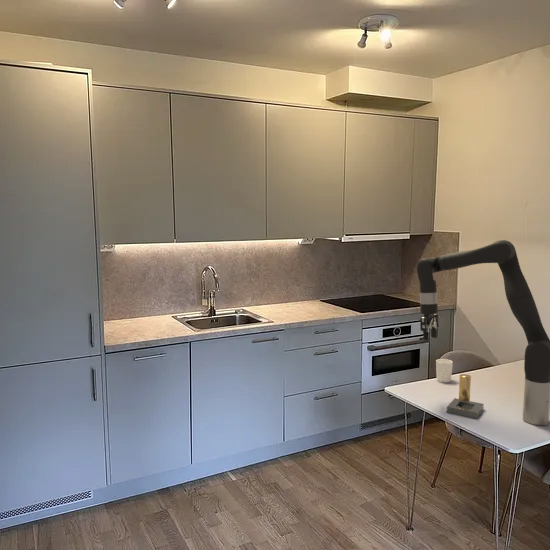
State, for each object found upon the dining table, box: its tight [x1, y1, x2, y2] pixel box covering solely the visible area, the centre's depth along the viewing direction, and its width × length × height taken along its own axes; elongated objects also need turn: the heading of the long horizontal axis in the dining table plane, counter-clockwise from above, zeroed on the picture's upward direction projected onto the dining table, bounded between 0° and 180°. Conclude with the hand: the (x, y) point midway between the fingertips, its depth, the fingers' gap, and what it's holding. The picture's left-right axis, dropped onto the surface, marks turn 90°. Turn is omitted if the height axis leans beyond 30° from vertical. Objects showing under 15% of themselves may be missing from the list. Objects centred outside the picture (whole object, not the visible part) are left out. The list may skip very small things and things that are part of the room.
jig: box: [446, 398, 485, 420], centre depth 211 cm, size 12×12×2 cm
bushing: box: [458, 373, 472, 401], centre depth 221 cm, size 5×5×12 cm
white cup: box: [435, 358, 453, 383], centre depth 250 cm, size 8×8×10 cm
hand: (430, 338), depth 223 cm, fingers open, 8 cm apart
